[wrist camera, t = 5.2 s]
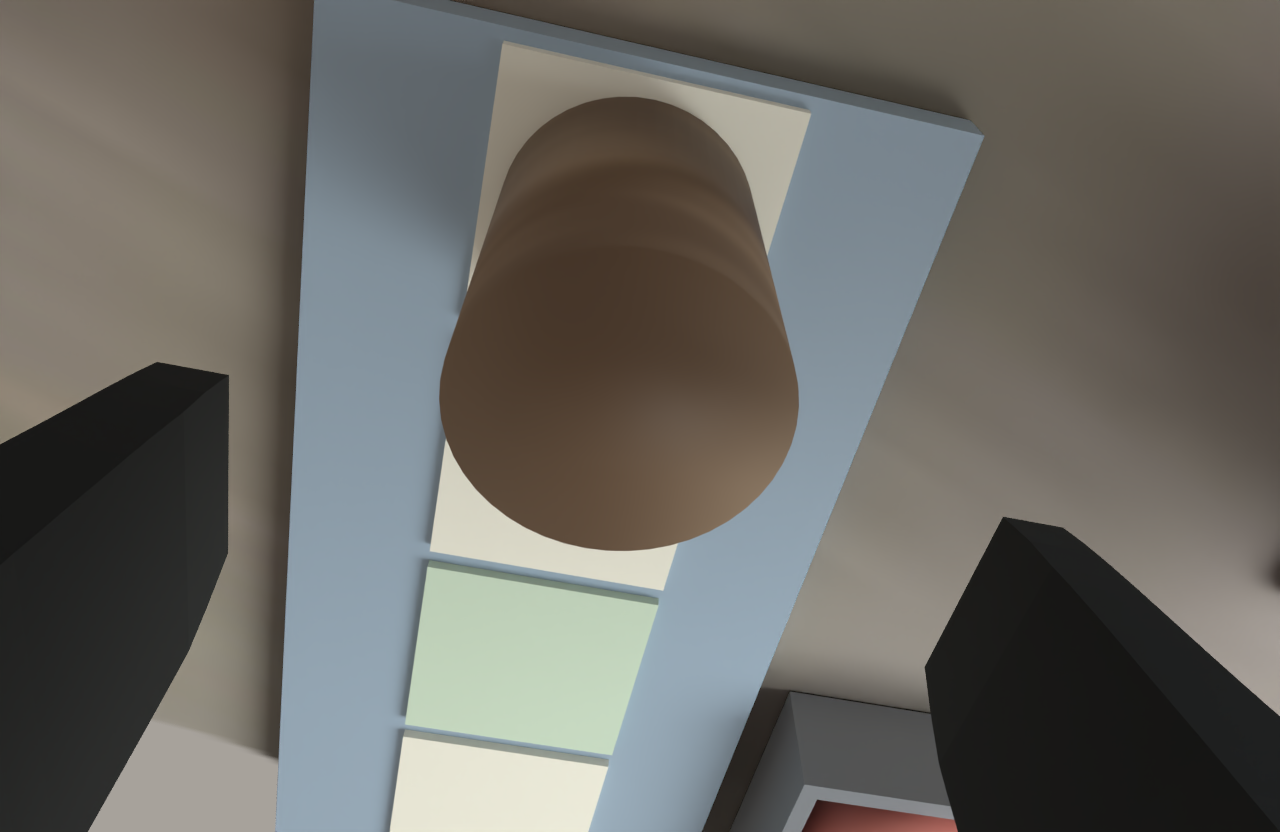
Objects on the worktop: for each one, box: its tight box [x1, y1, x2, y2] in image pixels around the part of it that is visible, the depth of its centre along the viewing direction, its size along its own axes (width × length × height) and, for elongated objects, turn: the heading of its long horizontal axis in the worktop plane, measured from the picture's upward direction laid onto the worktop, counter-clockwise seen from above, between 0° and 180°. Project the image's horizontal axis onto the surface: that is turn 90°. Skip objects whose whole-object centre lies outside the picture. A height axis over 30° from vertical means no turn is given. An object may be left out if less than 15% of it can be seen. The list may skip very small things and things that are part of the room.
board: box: [275, 0, 984, 832], centre depth 20 cm, size 10×20×1 cm, turn 168°
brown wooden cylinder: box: [439, 97, 799, 551], centre depth 14 cm, size 4×4×6 cm
